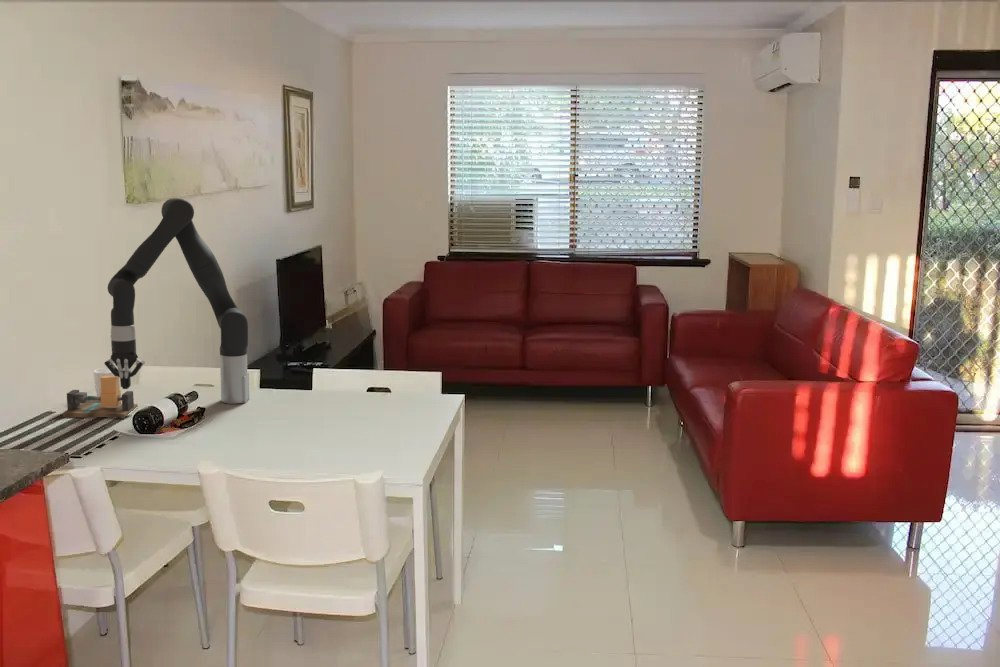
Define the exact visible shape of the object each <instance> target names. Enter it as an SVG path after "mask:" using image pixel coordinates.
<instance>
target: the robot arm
mask: <svg viewBox="0 0 1000 667" xmlns="http://www.w3.org/2000/svg"><path fill="white" fill-rule="evenodd" d="M161 216H162V219H161V221H160V222H159V223H158V225H157V226H156V228H155V229H154V230H153V232H151V234H150V235H149V236H147V238H146V239H144V241H142V242H141V244H140V245H139V246H138V247H137V248H136V249H135V250H134V251H133V253H132V255H131V256H130V257H129V259H128V260H127V262H126V263H125V264H124V265H123V266H122V267H121V268H120V269H119V270H118V271H117V272H116V273H115V274H114V275H113V276H112V277H111V278H110V280H109V281H108V284H107V292H108V294H109V295H110V296H111V297H112V306H113V307H112V309H111V310H110V324H111V325H110V326H111V327H110V344H111V345H110V347H111V355H110V358H109V359H107V360H105V362H104V366H106V368H108V369H109V370H110V371H111V372H112V373H113V375H114V376H118V377H119V384H120V388H122V390H128V389H130V387H131V386H132V385H131V384H132V383H131V382H132V381H131V378H132V377H134V376H136V375H137V373H138V372H139V371H140V370H141V369H142V367H143V366H144V365H145V361H144V360H141V359H139V358H138V357H139V356H138V354H137V342H136V341H137V337H136V326H135V316H134V315H135V314H134V309H135V303H136V302H135V301H136V288H135V284H136V283H137V282H138V280H139V279H142V278H144V277H145V276H146V275H147V273H148V272H149V270H150V269H151V268H152V267H153V265H154V264H155V263H156V261H157V260H158V258H159V257H160V256H161V255H162V253H163V251H165V249H166V247H168V245H169V244H170V243H171V241H173V239H174V238H175V239H176V240H177V243H178V244H179V247H180V249H181V252H182V254H183V257H184V259H185V261H186V263H187V264H188V265H187V266H188V268H189V270H190V272H191V274H192V276H193V277H194V279H195V281H196V283H197V285H198V286H199V288H200V290H201V291H202V293H203V294H204V295H205V297H206V298H207V300H208V303H209V304H210V306H211V309H212V312H213V314H214V316H215V318H216V322H217V324H218V327H219V329H220V346H219V366H220V367H219V368H220V370H219V371H220V374H219V376H220V399H221V400H220V401H221V402H222V403H224V404H230V405H231V404H232V405H233V404H234V405H235V404H242V403H243V404H245V403H247V402H248V401H249V400H250V373H249V372H248V346H249V324H248V318H247V316H246V315H245V314H244V313H243V312H242V311H241V310H240V309H239V307H238V306H237V305H236V303H235V301H234V300H233V298H232V297H231V295H230V292H229V290H228V288H227V287H228V286H227V284H226V280H225V277H224V272H222V271H223V270H222V268H221V266H220V264H219V263H218V260H217V258H216V256H215V254H214V253H213V252H212V250H211V249H210V248H209V246H208V245H207V244H206V242H205V241H204V239H203V238H202V237H201V236H200V235H199V232H198V231H197V229H196V226H195V224H194V222H193V219H194V216H195V209H194V206H193V205H192V203H191V202H190V201H188V200H187V199H184V198H169V199H167V200H165V202H163V204H162V206H161ZM133 365H135V367H134V369H133Z"/></svg>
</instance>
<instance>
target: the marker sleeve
mask: <svg viewBox="0 0 1000 667" xmlns="http://www.w3.org/2000/svg"><path fill="white" fill-rule="evenodd" d="M100 380H101V394H100V395H101V400H100V403H101V406H107V407H117V406H118V405H119V404H122V400H117V397H122V392H121V390H120V389H121V383H120V377H118V376H102V377H101V378H100Z"/></svg>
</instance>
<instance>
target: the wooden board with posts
mask: <svg viewBox="0 0 1000 667" xmlns="http://www.w3.org/2000/svg"><path fill="white" fill-rule="evenodd" d="M117 400H121V404H119V405H118V406H117V407H107V406H101V402H88V401H101V396H97V395H88V392H87V391H86V392H85V391H83V392H81V391H80V389H72V390H70V391H69V392H67V393H66V405H67V409H66V410H65V411H63V412H62V416H63V418H87V417H125V416H127V415H128V414H129V413H130V412H131V411H133V410H134V409H135V408H136V407H139V406H138V403H134V400H135V398H134V390H127V391H125V392H124V393H121V397H117ZM128 416H129V415H128ZM128 416H127V417H128Z"/></svg>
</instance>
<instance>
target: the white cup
mask: <svg viewBox="0 0 1000 667" xmlns="http://www.w3.org/2000/svg"><path fill="white" fill-rule="evenodd" d="M102 376H114V375H113V373H112V372H111V371H110V370H109V369H108V368H107V367H102V368H97V369H95V370H93V378H94V379H93V380H94V388H95V392H96V396H101V395H100V394H101V380H100V378H101V377H102Z"/></svg>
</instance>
